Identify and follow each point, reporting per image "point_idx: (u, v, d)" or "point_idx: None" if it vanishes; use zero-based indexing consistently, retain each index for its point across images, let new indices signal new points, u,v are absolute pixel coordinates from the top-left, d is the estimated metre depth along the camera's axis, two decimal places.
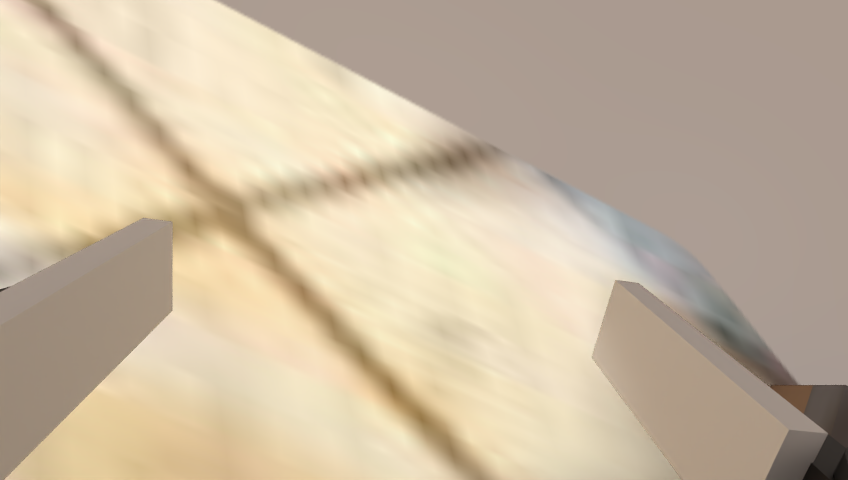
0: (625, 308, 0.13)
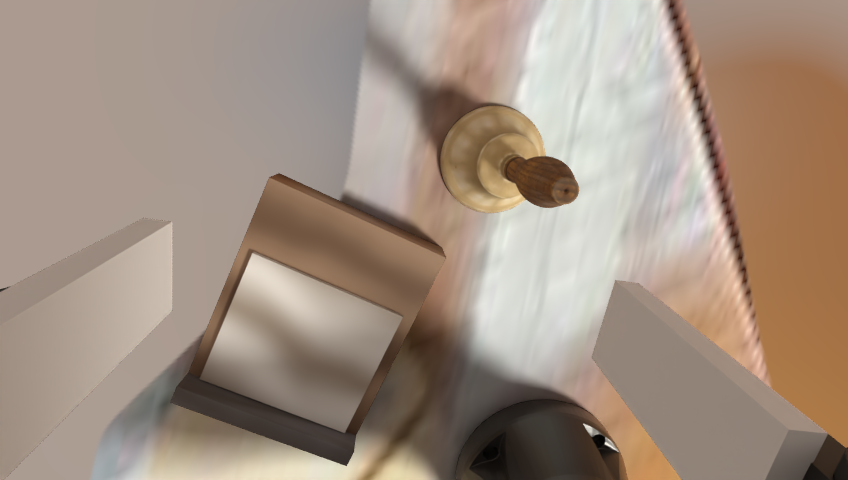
0: (625, 308, 0.13)
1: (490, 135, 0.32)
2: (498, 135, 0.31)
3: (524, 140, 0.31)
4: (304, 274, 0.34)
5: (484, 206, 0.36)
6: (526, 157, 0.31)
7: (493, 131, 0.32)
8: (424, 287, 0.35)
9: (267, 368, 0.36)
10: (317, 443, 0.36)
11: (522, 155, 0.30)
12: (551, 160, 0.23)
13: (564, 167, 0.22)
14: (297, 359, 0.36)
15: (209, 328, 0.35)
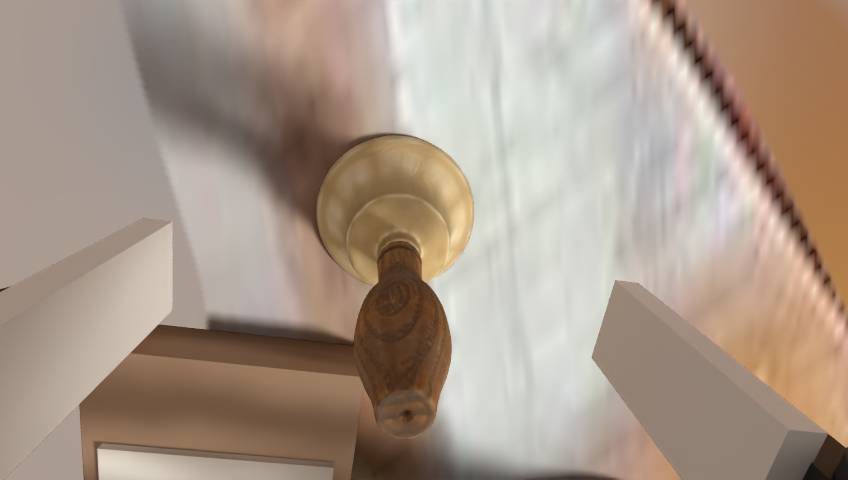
0: (625, 308, 0.13)
1: (358, 202, 0.20)
2: (365, 205, 0.19)
3: (405, 202, 0.19)
4: (180, 451, 0.24)
5: None
6: (415, 229, 0.19)
7: (364, 193, 0.21)
8: (349, 421, 0.25)
9: None
10: None
11: (407, 229, 0.19)
12: (388, 315, 0.11)
13: (407, 338, 0.11)
14: None
15: None
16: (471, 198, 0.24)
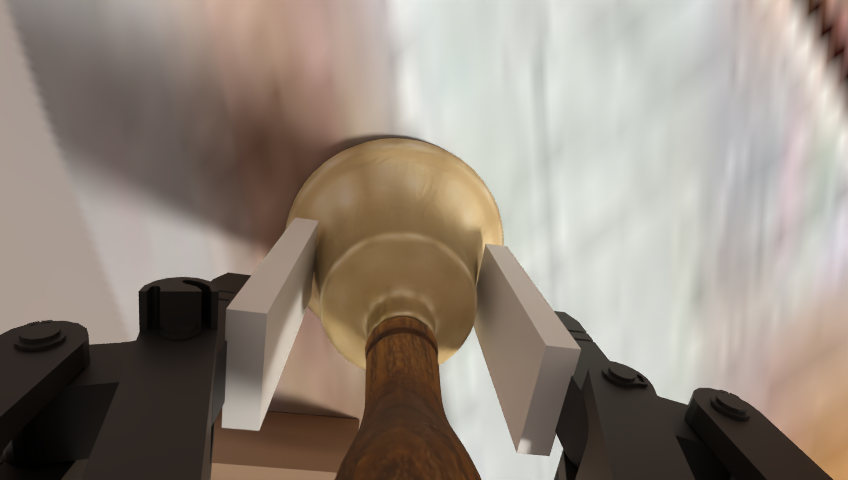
0: (488, 267, 0.15)
1: (339, 242, 0.13)
2: (347, 250, 0.12)
3: (410, 247, 0.12)
4: None
5: None
6: (427, 290, 0.12)
7: (348, 227, 0.14)
8: None
9: None
10: None
11: (414, 291, 0.12)
12: None
13: None
14: None
15: None
16: (500, 225, 0.17)
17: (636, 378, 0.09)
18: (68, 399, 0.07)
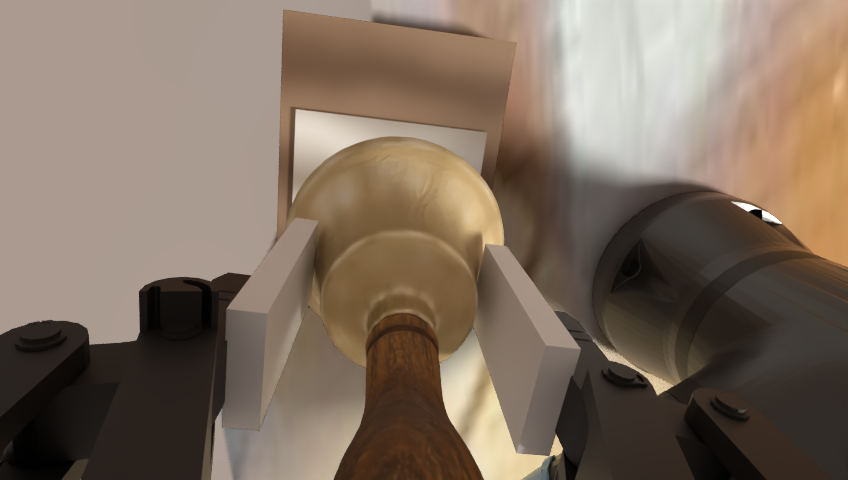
0: (487, 267, 0.15)
1: (339, 240, 0.13)
2: (348, 247, 0.12)
3: (411, 244, 0.12)
4: (361, 116, 0.29)
5: None
6: (427, 288, 0.12)
7: (349, 225, 0.14)
8: (501, 88, 0.29)
9: None
10: None
11: (414, 289, 0.12)
12: None
13: None
14: None
15: (280, 216, 0.31)
16: (501, 224, 0.17)
17: (636, 378, 0.09)
18: (68, 399, 0.07)
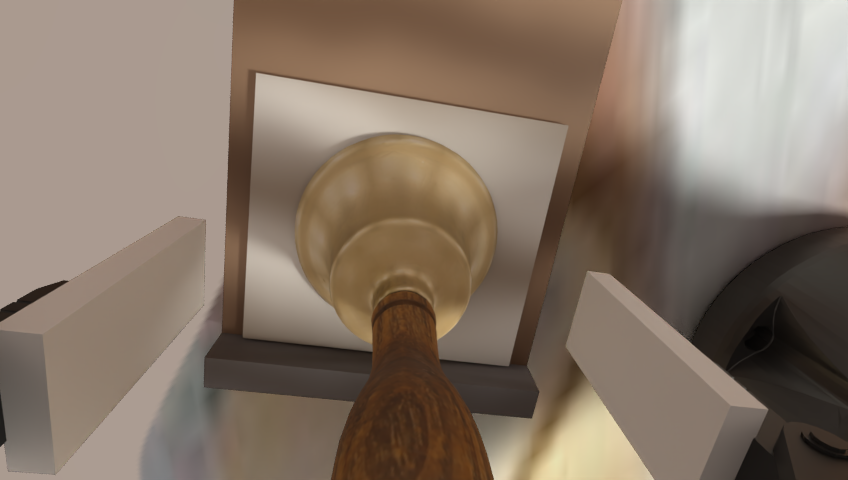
0: (595, 297, 0.14)
1: (347, 228, 0.15)
2: (355, 234, 0.14)
3: (411, 231, 0.13)
4: (365, 91, 0.18)
5: None
6: (426, 269, 0.13)
7: (355, 214, 0.15)
8: (595, 55, 0.18)
9: None
10: (473, 393, 0.20)
11: (414, 270, 0.13)
12: None
13: None
14: None
15: (229, 246, 0.19)
16: (494, 216, 0.19)
17: None
18: None
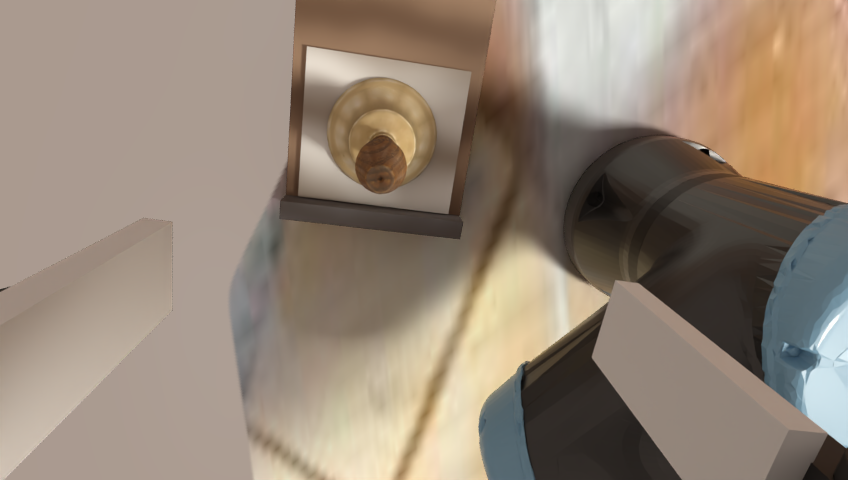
0: (625, 308, 0.13)
1: (356, 118, 0.31)
2: (360, 117, 0.30)
3: (386, 114, 0.30)
4: (363, 55, 0.34)
5: None
6: (392, 131, 0.30)
7: (359, 112, 0.31)
8: (483, 33, 0.34)
9: None
10: (426, 223, 0.36)
11: (387, 130, 0.29)
12: (372, 145, 0.22)
13: (381, 151, 0.21)
14: None
15: (290, 143, 0.35)
16: (434, 122, 0.35)
17: None
18: None
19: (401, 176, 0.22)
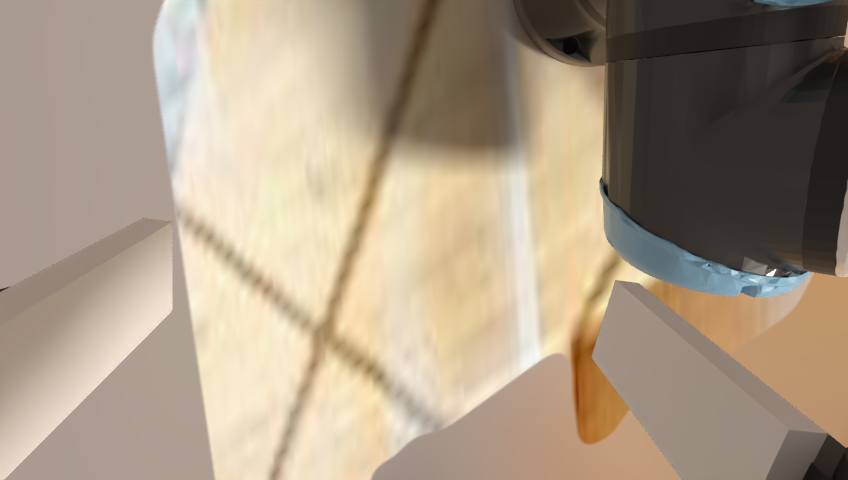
0: (625, 308, 0.13)
1: None
2: None
3: None
4: None
5: None
6: None
7: None
8: None
9: None
10: None
11: None
12: None
13: None
14: None
15: None
16: None
17: None
18: None
19: None
